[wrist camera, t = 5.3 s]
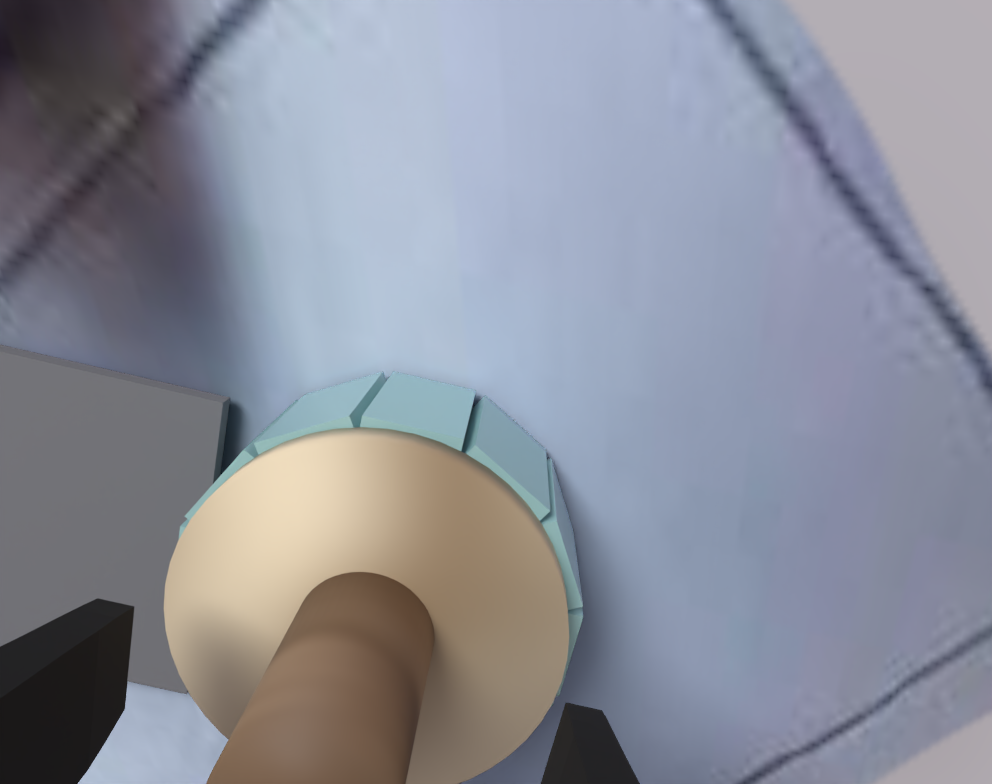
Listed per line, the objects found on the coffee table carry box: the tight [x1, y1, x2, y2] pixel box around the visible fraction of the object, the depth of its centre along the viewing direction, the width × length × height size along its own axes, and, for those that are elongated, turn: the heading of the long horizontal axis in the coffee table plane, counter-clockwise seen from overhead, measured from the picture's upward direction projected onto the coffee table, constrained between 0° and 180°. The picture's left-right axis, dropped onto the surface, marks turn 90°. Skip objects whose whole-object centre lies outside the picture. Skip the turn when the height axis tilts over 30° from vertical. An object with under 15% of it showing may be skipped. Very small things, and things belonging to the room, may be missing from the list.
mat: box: [0, 345, 230, 694], centre depth 17 cm, size 8×8×1 cm
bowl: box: [179, 371, 583, 706], centre depth 16 cm, size 8×8×3 cm
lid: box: [164, 427, 569, 784], centre depth 12 cm, size 8×8×5 cm
